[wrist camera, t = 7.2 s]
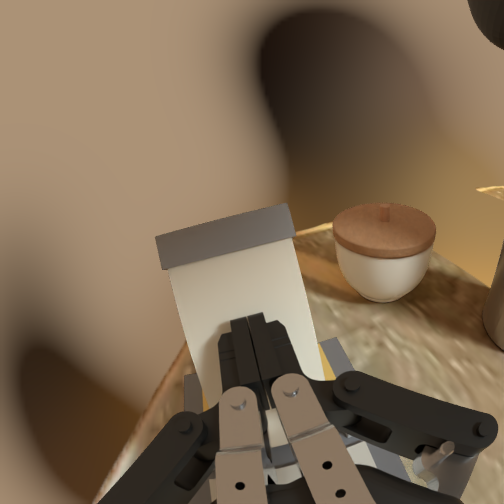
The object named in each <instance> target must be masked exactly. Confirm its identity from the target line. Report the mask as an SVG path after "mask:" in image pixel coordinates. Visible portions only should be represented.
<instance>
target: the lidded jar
mask: <svg viewBox="0 0 504 504" xmlns="http://www.w3.org/2000/svg"><path fill="white" fill-rule="evenodd" d="M435 234H436V227H435V224H434V222H433V220H432V219H431V218H430V217H429V216H428V215H427V214H425V213H424V212H422V211H420V210H418V209H415V208H412V207H409V206H406V205H401V204H394V203H370V204H363V205H358V206H354V207H351V208H349V209H347V210H344V211H343V212H341V213H340V214H338V216H337V217H336V218H335V219H334V221H333V235H334V238H335V248H336V255H337V260H338V264H339V267H340V270H341V272H342V274H343V276H344V278H345V279H346V281H347V282H348V283H349V285H350V286H351V287H352V288H354V289H355V290H356V291H357V292H358V293H359V294H360V295H361V296H363V297H364V298H366V299H368V300H370V301H373V302H379V303H387V302H393V301H396V300H398V299H400V298H401V297H403V296H404V295H405V294H407V293H409V292H410V291H412V290H413V289H414V288H415V287H416V286H417V285H418V284H419V283H420V281H421V280H422V278H423V277H424V275H425V273H426V271H427V268H428V266H429V262H430V259H431V255H432V249H433V242H434V240H435Z"/></svg>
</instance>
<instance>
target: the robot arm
mask: <svg viewBox="0 0 504 504" xmlns="http://www.w3.org/2000/svg"><path fill="white" fill-rule="evenodd" d="M468 4H469V7H470V11H471V14H472V16H473V19H474V21H475V23H476V24H477V26H478V28H479V29H480V30H481V32H482V33H483V35H484V36H486V38H487V39H488V40H490V42H492V43H493V44H494V45H496V46H497V47H499V48H501V49H503V50H504V0H468ZM247 318H248V322H249V325H248V322H247V319H246V316H245V317H241V318H237V319H233V320H230V325H231V332H228V333H224V334H221V336H220V339H219V341H218V353H219V361H220V362H219V363H220V373H221V382H222V396H221V398H220V400H219V402H218V403H217V404H216V405H215V406H214V407H212V408H210V409H208V410H206V411H204V412H202V413H200V414H198V415H197V414H196V413H194V412H190V411H183V412H180V413H177V414H176V415H174V416H173V417H172V418H171V419H170V420H169V422H168V423H167V424H166V425H165V426H164V428H163V429H162V430H161V431H160V432H159V434H158V435H157V436H156V437H155V438H154V440H153V441H152V442H151V443H150V444H149V446H148V447H147V448H146V449H145V450H144V452H143V453H142V454H141V455H140V456H139V457H138V459H137V460H136V461H135V462H134V463H133V464H132V465H131V467H130V468H129V469H128V470H127V471H126V472H125V473H124V475H123V476H122V477H121V478H120V479H119V480H118V481H117V482H116V484H115V485H114V486H113V487H112V488H111V489H110V490H109V491H108V492H107V493H106V495H105V496H104V497H103V498H102V499H101V500H100V501H99V502H98V503H97V504H188V503H189V502H190V501H191V499H192V498H193V497H194V496H195V494H196V493H197V492H198V490H199V489H200V488H201V486H202V485H203V484H204V482H205V481H206V480H207V478H208V477H209V476H210V474H211V473H212V472H213V470H214V469H215V471H216V494H217V499H215V500H214V501H213V502H212V503H210V504H464V503H463V502H462V501H461V500H460V498H461V496H462V494H463V491H464V489H465V487H466V485H467V483H468V480H469V478H470V476H471V473H472V471H473V468H474V466H475V463H476V461H477V458H478V455H479V454H480V452H482V451H483V450H484V449H485V448H487V447H488V446H489V445H491V444H492V443H493V441H494V440H495V438H496V436H497V433H498V424H497V421H496V419H495V418H494V417H493V416H492V415H490V414H487V413H483V412H479V411H476V410H472V409H468V408H465V407H461V406H458V405H454V404H451V403H448V402H444V401H441V400H438V399H435V398H432V397H429V396H426V395H423V394H420V393H417V392H414V391H411V390H408V389H405V388H402V387H400V386H397V385H394V384H391V383H388V382H386V381H383V380H380V379H378V378H375V377H373V376H370V375H367V374H365V373H362V372H359V371H347V372H344V373H342V374H340V375H339V376H338V377H337V378H336V379H335V380H325V381H319V380H314V379H311V378H309V377H307V376H306V375H305V374H304V373H303V371H302V369H301V367H300V364H299V362H298V359H297V356H296V354H295V351H294V349H293V346H292V344H291V341H290V338H289V336H288V333H287V330H286V328H285V326H284V325H283V324H282V323H280V322H279V321H278V320H275V321H271V322H268V323H266V320H265V317H264V314H263V312H260V313H256V314H253V315H249V316H247ZM482 318H483V323H484V326H485V329H486V331H487V333H488V334H489V336H490V338H491V339H492V340H493V341H494V342H495V343H496V345H498V346H499V347H500V348H501V349H503V350H504V241H503V245H502V250H501V254H500V258H499V262H498V265H497V269H496V272H495V275H494V279H493V282H492V285H491V288H490V291H489V294H488V297H487V300H486V303H485V305H484V309H483V316H482ZM249 327H250V329H249ZM250 331H251V332H250ZM266 393H267V394H266ZM267 396H268V398H267ZM268 399H269V402H270V405H271V408H272V409H274V408H276V410H277V413H278V416H279V419H280V423H281V426H282V428H283V431H284V433H285V436H286V439H287V441H288V444H289V446H290V449H291V451H292V454H293V457H294V459H295V462H296V465H297V467H298V470H299V472H300V475H301V477H300V478H298V479H297V480H295V481H293V482H290V483H288V484H278V479H277V474H276V470H275V466H274V461H273V455H272V448H271V442H270V435H269V428H268V420H267V416H266V412H265V411H266V410H270V406H269V402H268ZM337 429H338V430H340V431H342V432H344V433H347V434H349V435H351V436H353V437H355V438H358V439H360V440H362V441H365V442H367V443H369V444H372V445H374V446H376V447H379V448H381V449H384V450H387V451H389V452H392V453H394V454H397V455H400V456H403V457H405V458H408V459H411V460H414V461H413V471H414V473H415V475H416V476H417V477H419V478H421V479H423V480H424V481H425V482H426V484H427V486H428V488H425V487H423V486H420V485H417V484H414V483H411V482H409V481H406V480H404V479H401V478H399V477H396V476H394V475H391V474H389V473H387V472H384V471H382V470H380V469H377V468H375V467H372V466H368V465H362V464H354V462H353V460H352V458H351V456H350V454H349V452H348V450H347V448H346V446H345V444H344V443H343V441H342V439H341V437H340V435H339V433H338V431H337Z"/></svg>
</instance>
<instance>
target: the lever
mask: <svg viewBox="0 0 504 504" xmlns="http://www.w3.org/2000/svg"><path fill="white" fill-rule="evenodd" d="M295 236H296V233H295V229H294V226H293V222H292V218H291V215H290V212H289V208H288V205H287V203H284V204H279V205H275V206H271V207H267V208H263V209H258V210H254V211H250V212H246V213H242V214H238V215H234V216H230V217H226V218H222V219H219V220H214V221H210V222H207V223H203V224H199V225H196V226H192V227H188V228H184V229H181V230H177V231H173V232H170V233H166V234H163V235H159V236H156V237H155V239H156V244H157V248H158V253H159V258H160V262H161V266H162V270H168V274H169V278H170V282H171V286H172V290H173V294H174V298H175V301H176V305H177V309H178V313H179V316H180V320H181V323H182V326H183V330H184V334H185V337H186V341H187V344H188V347H189V350H190V353H191V357H192V360H193V363H194V366H195V369H196V372H197V375H198V378H199V381H200V384H201V387H202V389H203V392H204V395H205V398H206V400H207V403H208V406H209V409H210V408H212V407H214V406H215V405H216V404H217V403H218V402H219V400H220V398H221V396H222V382H221V373H220V363H219V362H220V361H219V353H218V341H219V339H220V336H221V334H224V333H228V332H231V325H230V320H233V319H237V318H241V317H245V316H246V319H247V322H248V318H247V316H249V315H253V314H256V313H260V312H263V314H264V317H265V320H266V323H268V322H271V321H275V320H278V321H279V322H280V323H282V324H283V325H284V326H285V328H286V330H287V333H288V336H289V338H290V341H291V344H292V346H293V349H294V351H295V354H296V356H297V359H298V362H299V364H300V367H301V369H302V371H303V373H304V374H305V375H306V376H307V377H309V378H311V379H314V380H319V381H325V377H324V372H323V367H322V363H321V358H320V353H319V348H318V344H317V339H316V335H315V330H314V326H313V322H312V317H311V313H310V309H309V304H308V300H307V296H306V292H305V288H304V284H303V280H302V276H301V272H300V268H299V264H298V260H297V256H296V252H295V249H294V245H293V241H292V238H294V237H295ZM248 325H249V322H248ZM249 329H250V327H249ZM250 332H251V331H250ZM266 394H267V393H266ZM267 398H268V396H267ZM268 402H269V399H268ZM269 406H270V410H266V411H265V412H266V416H267V420H268V428H269V435H270V442H271V448H273V447H277V446H281V445H285V444H288V441H287V439H286V436H285V433H284V431H283V428H282V426H281V423H280V419H279V416H278V413H277V410H276V408H274V409H272V408H271V405H270V402H269Z"/></svg>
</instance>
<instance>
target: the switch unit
mask: <svg viewBox="0 0 504 504" xmlns="http://www.w3.org/2000/svg"><path fill="white" fill-rule="evenodd" d="M317 344H318V348H319V353H320V358H321V363H322V367H323V372H324V377H325V380H335V379H336V378H337V377H338V376H339V375H340V374H342V373H344V372H347V371H355V370H354V368H353V366H352V364H351V363H350V361H349V359H348V357H347V355H346V353H345V352H344V350H343V348H342V346H341V344H340V343H339V341H338V339H337V337H335V338H332V339H329V340H326V341H323V342H319V343H317ZM208 409H209V406H208V403H207V400H206V398H205V395H204V392H203V389H202V387H201V384H200V381H199V378H198V375H197V373H195V374H189V375H184V411H190V412H194V413H196V414H197V415H198V414H200V413H202V412H204V411H206V410H208ZM337 431H338V433H339V435H340V437H341V439H342V441H343V443H344V444H345V446H346V448H347V450H348V452H349V454H350V456H351V458H352V460H353V462H354V464H362V465H368V466H372V467H375V468H377V469H380V470H382V471H384V472H387V473H389V474H391V475H394V476H396V477H399V478H401V479H404V480H406V481H409V482H411V480H410V478H409V476H408V474H407V472H406V470H405V468H404V466H403V464H402V461H401V459H400V457H399V455H397V454H394V453H392V452H389V451H387V450H384V449H381V448H379V447H376V446H374V445H372V444H369V443H367V442H365V441H362V440H360V439H358V438H355V437H353V436H351V435H349V434H347V433H344V432H342V431H340V430H338V429H337ZM272 455H273V461H274V466H275V470H276V474H277V479H278V484H288V483H290V482H293V481H295V480H297V479H298V478H300V477H301V475H300V472H299V470H298V467H297V465H296V462H295V459H294V457H293V454H292V451H291V449H290V446H289V444H285V445H281V446H277V447H273V448H272ZM411 483H412V482H411ZM215 499H217V494H216V471H215V469H214V470H213V472H212V473H211V474H210V476H209V477H208V478H207V480H206V481H205V482H204V484H203V485H202V486H201V488H200V489H199V490H198V492H197V493H196V494H195V496H194V497H193V498H192V499H191V501H190V502H189V503H188V504H210V503H212V502H213V501H214V500H215Z"/></svg>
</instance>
